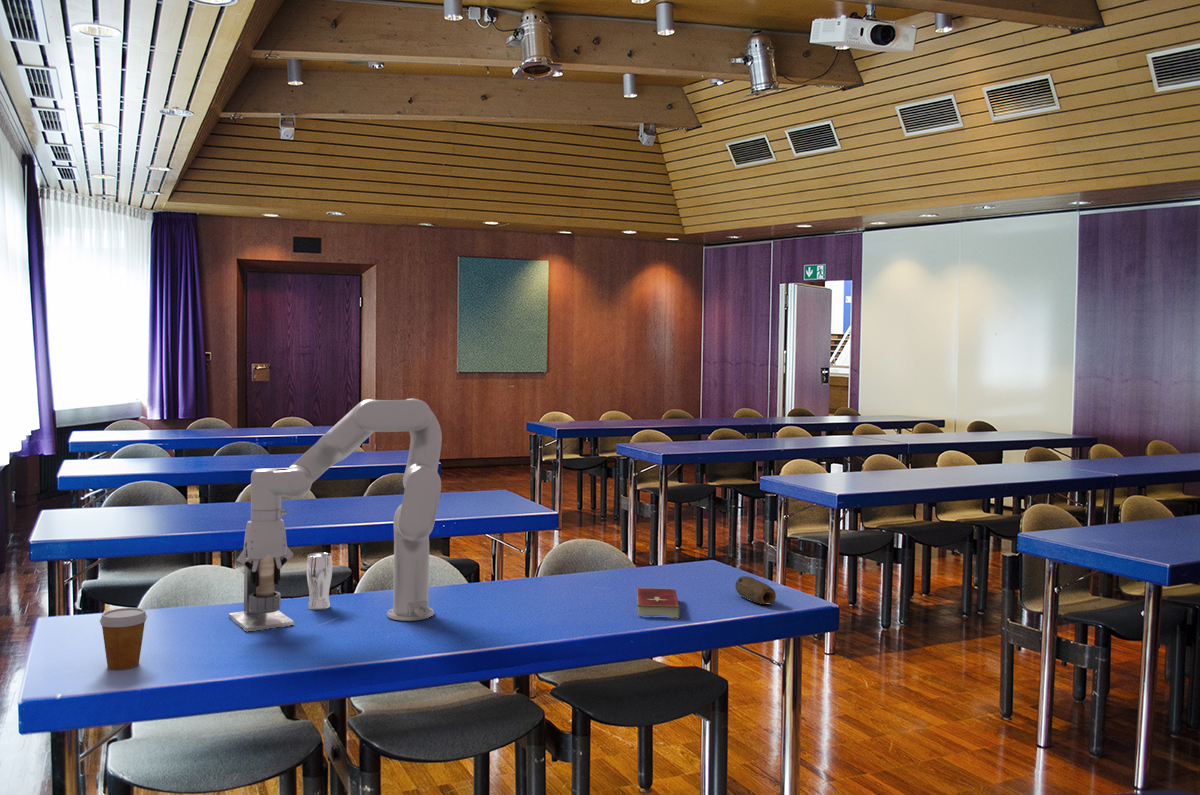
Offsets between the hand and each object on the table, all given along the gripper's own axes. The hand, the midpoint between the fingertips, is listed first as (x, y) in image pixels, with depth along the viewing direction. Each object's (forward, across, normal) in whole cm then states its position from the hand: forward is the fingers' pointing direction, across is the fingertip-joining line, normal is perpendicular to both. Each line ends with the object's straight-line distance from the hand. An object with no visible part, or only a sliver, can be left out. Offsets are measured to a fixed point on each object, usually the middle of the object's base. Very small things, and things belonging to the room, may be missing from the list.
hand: (265, 583), depth 239 cm
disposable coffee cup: (+11, +36, +17) cm, 41 cm away
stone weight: (+11, -130, +52) cm, 140 cm away
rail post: (+4, 0, 0) cm, 4 cm away
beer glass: (+11, -18, -10) cm, 23 cm away
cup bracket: (+11, 0, -4) cm, 11 cm away
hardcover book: (+12, -99, +43) cm, 109 cm away
